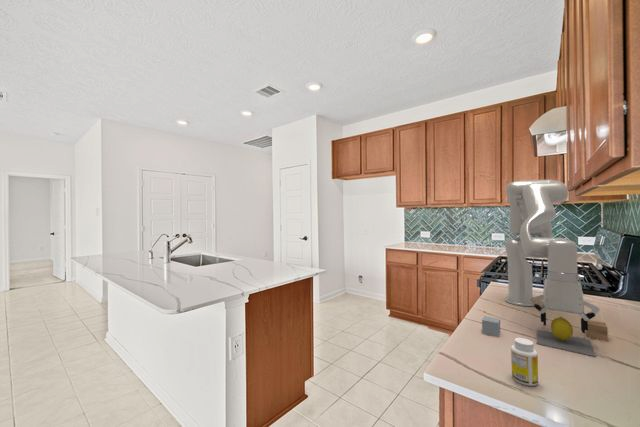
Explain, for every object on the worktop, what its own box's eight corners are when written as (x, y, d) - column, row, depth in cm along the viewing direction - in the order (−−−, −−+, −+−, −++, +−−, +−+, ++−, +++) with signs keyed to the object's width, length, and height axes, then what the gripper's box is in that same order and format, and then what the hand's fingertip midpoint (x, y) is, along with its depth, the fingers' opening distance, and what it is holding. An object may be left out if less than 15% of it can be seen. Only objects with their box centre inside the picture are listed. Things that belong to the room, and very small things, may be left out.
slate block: (484, 329, 104) (484, 315, 104) (500, 332, 101) (500, 318, 101) (482, 333, 100) (482, 320, 100) (498, 337, 97) (498, 323, 97)
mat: (537, 330, 102) (537, 329, 102) (590, 340, 93) (590, 339, 93) (536, 344, 91) (536, 343, 91) (596, 357, 82) (596, 356, 82)
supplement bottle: (532, 376, 73) (531, 337, 74) (542, 388, 68) (541, 347, 68) (508, 372, 75) (507, 335, 75) (516, 385, 70) (515, 344, 70)
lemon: (577, 345, 89) (576, 320, 89) (557, 343, 91) (557, 319, 91) (565, 337, 95) (565, 314, 95) (547, 336, 96) (547, 313, 96)
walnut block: (585, 333, 99) (585, 319, 99) (605, 336, 96) (604, 322, 96) (587, 337, 96) (586, 323, 96) (607, 341, 92) (607, 326, 92)
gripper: (596, 278, 90) (598, 330, 90) (530, 271, 101) (531, 318, 101) (600, 282, 84) (601, 338, 84) (529, 275, 95) (530, 325, 95)
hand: (563, 327), depth 92 cm, fingers open, 9 cm apart
